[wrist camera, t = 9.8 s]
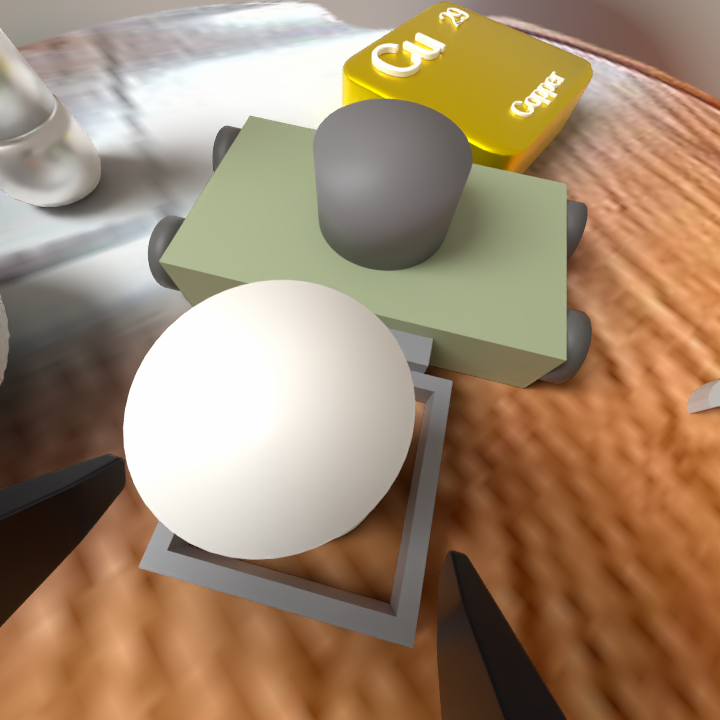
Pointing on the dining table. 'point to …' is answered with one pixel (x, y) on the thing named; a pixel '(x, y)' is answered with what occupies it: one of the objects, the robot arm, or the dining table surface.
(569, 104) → the element tile
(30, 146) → the plastic bottle
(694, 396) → the adjustable wrench
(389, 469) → the white cylindrical piece
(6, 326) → the cereal bowl
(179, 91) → the dining table surface
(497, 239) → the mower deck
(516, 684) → the robot arm
